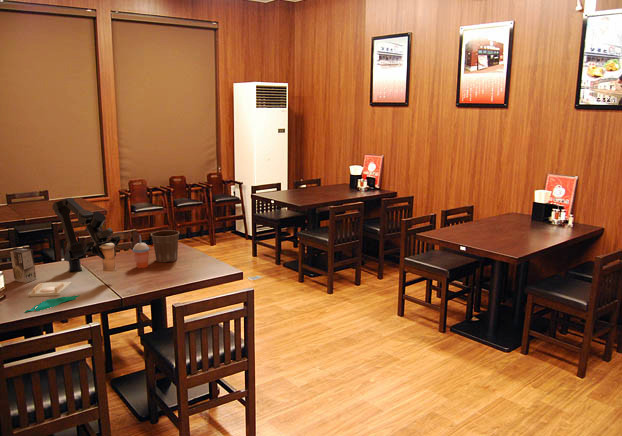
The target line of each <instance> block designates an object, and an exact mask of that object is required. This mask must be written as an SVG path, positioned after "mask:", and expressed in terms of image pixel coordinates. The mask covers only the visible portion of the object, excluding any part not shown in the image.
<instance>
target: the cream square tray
mask: <svg viewBox="0 0 622 436" xmlns="http://www.w3.org/2000/svg"><path fill="white" fill-rule="evenodd" d="M72 285H73V281H57V282H55V281H54V282H51V281H50V282H41V283H38V284H36V286H34V287H33V288H32V289H31V290H32V291H30V292H29V293H28V297H44V296H45V297H47V296H48V297H50V296H61V295H62V294H63V293H64V292H65V291H66V290H68V288H69V287H71V286H72Z"/></svg>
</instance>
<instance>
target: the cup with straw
mask: <svg viewBox="0 0 622 436" xmlns="http://www.w3.org/2000/svg"><path fill="white" fill-rule="evenodd" d="M138 237H139V242H138V243H135V245H134V246H133V248H132V252H133V256H134V262H135V265H136V266H135V267H136V268H138V269H144V268H145V269H146V268H148V266H149V259H150V257H149V256H150V255H149V254H150V253H149V252H150V247H149V245H148V244H146V242H142V235H139V236H138Z"/></svg>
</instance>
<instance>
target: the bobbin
mask: <svg viewBox="0 0 622 436" xmlns="http://www.w3.org/2000/svg"><path fill="white" fill-rule="evenodd" d="M114 247H115V248H116V246H115V244H113V243H106V244H102V245H101V246H100V249H101V252H102V253H103V255H104V257H105V259H102V273H103V274H113V273H116V272H117V268H116V258H115V257H116V256H115V253H114Z"/></svg>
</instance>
